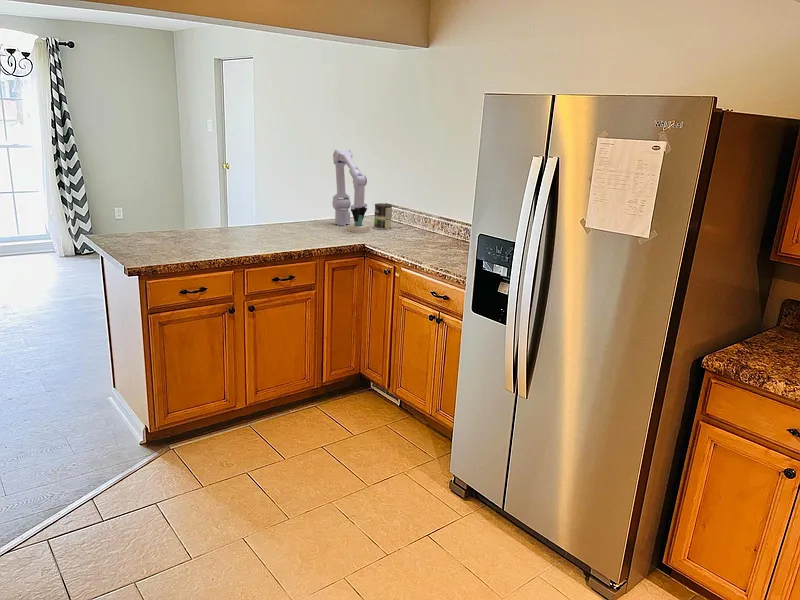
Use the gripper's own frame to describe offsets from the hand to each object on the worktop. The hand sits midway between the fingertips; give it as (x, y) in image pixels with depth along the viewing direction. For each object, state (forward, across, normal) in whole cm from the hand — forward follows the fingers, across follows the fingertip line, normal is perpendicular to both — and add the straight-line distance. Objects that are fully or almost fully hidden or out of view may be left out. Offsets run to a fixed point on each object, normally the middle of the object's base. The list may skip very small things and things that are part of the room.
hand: (358, 220), depth 351 cm
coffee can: (+6, +18, -6) cm, 20 cm away
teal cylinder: (+3, 0, 0) cm, 3 cm away
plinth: (+6, 0, 0) cm, 6 cm away
